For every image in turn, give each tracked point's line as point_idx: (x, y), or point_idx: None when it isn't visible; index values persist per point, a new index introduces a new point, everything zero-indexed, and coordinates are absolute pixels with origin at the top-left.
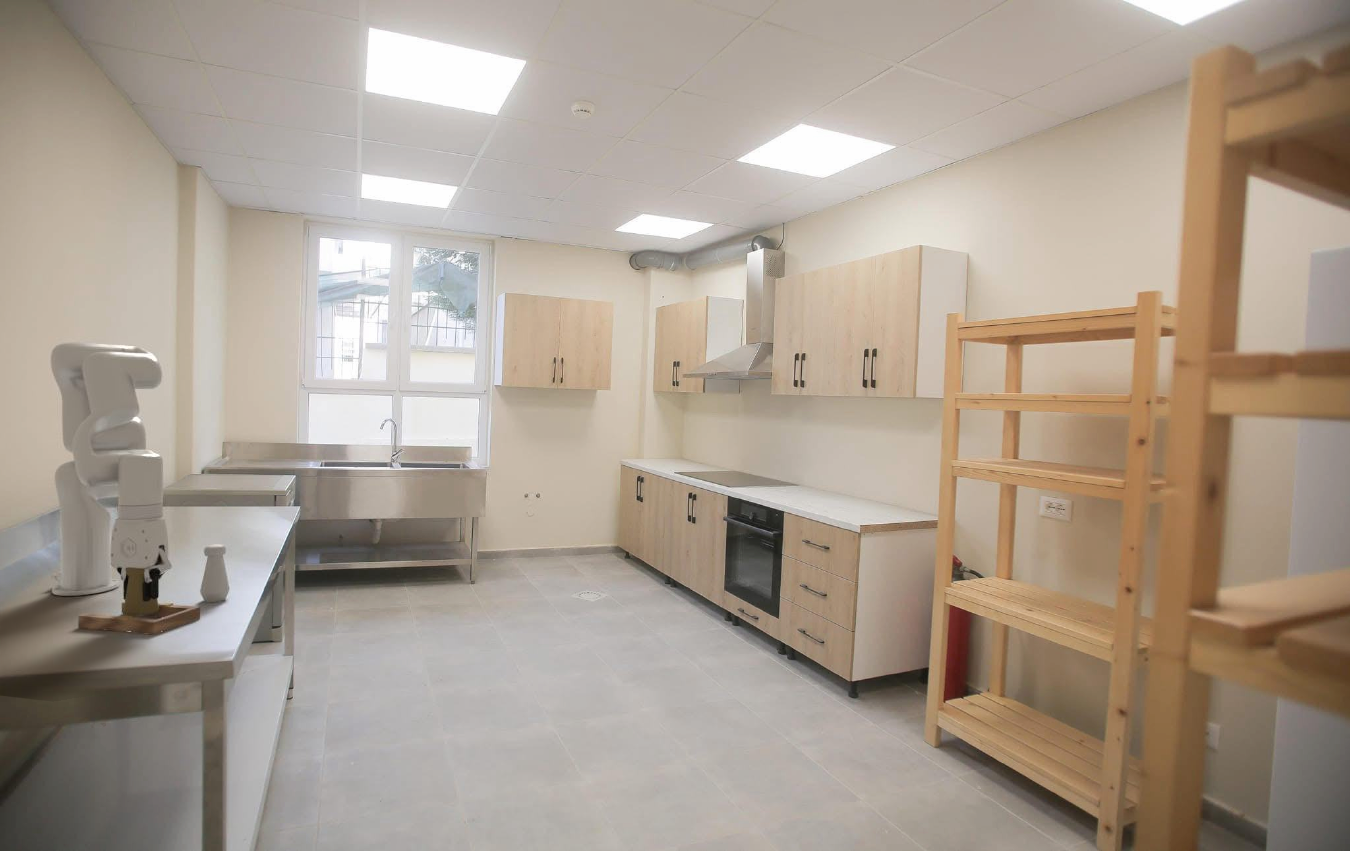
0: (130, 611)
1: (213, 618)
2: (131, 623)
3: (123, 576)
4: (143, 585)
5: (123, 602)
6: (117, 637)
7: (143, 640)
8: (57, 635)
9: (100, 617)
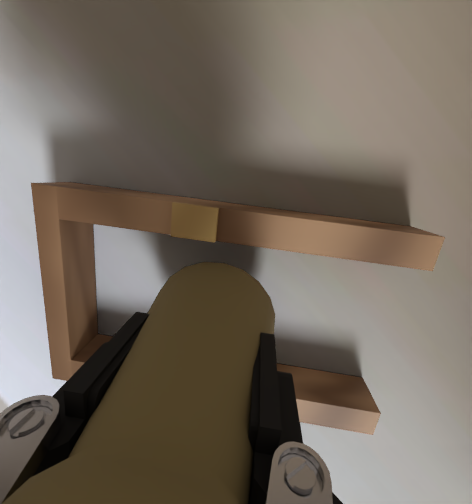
0: (207, 271)
1: (47, 353)
2: (151, 196)
3: (297, 486)
4: (92, 375)
5: (377, 417)
6: (170, 136)
7: (52, 117)
8: (428, 125)
9: (315, 222)
